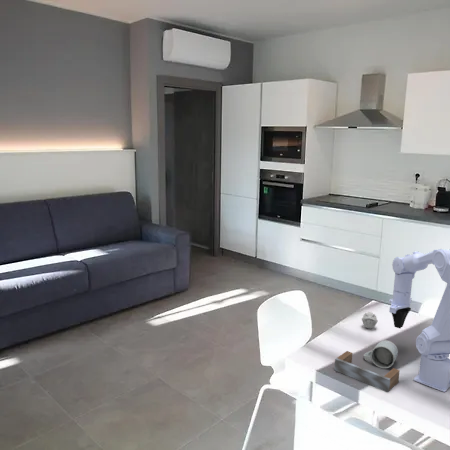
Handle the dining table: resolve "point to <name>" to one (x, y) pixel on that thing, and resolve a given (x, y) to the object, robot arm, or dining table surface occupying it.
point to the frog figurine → (369, 320)
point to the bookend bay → (366, 373)
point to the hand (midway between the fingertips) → (398, 326)
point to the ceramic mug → (383, 354)
